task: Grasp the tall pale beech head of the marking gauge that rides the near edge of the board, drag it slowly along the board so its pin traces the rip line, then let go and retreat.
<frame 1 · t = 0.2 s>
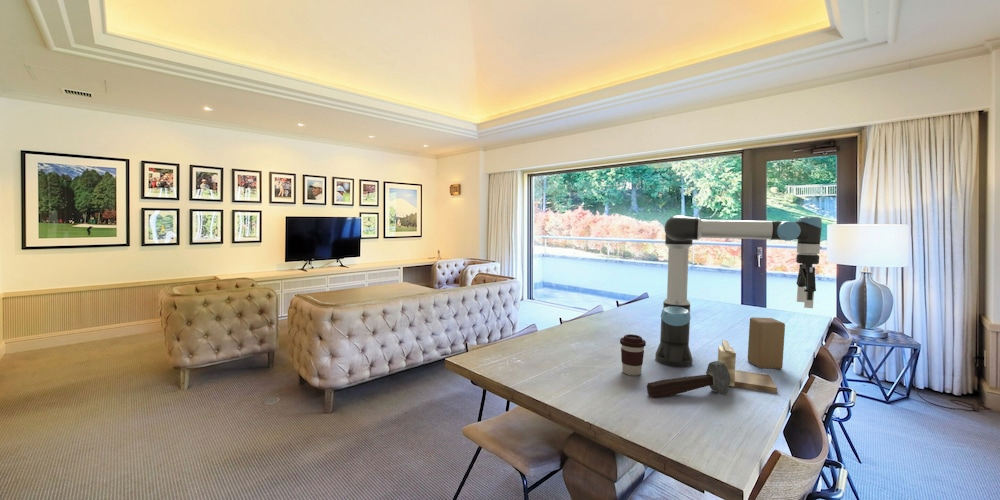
hand: (804, 304, 168), 28 cm above the table, fingers open, 13 cm apart
wooden block: (764, 365, 175), on the table
coffee cup: (631, 373, 164), on the table
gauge: (725, 362, 157), point 7 cm above the table, slide at 0.0 cm
board: (742, 381, 156), on the table
hammer: (687, 395, 144), on the table
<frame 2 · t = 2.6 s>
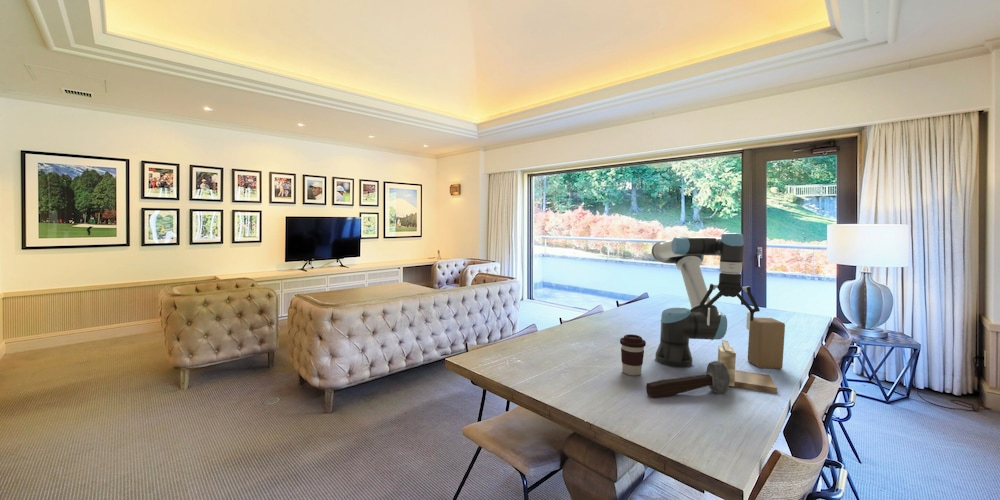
hand: (727, 326, 157), 21 cm above the table, fingers open, 13 cm apart
nothing on the table moved.
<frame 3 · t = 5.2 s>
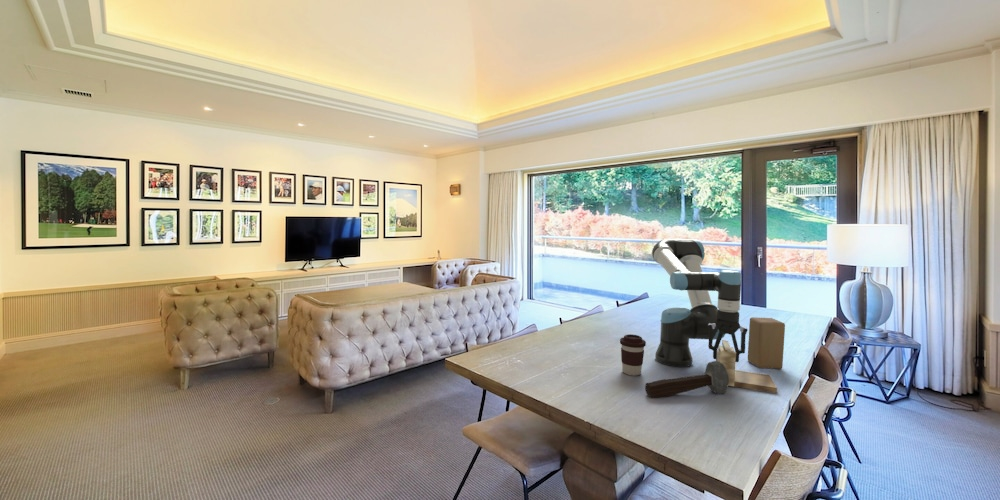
hand: (725, 368, 159), 4 cm above the table, fingers closed on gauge, 5 cm apart
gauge: (725, 362, 157), point 7 cm above the table, slide at 0.0 cm, touching gripper
everything else where it was.
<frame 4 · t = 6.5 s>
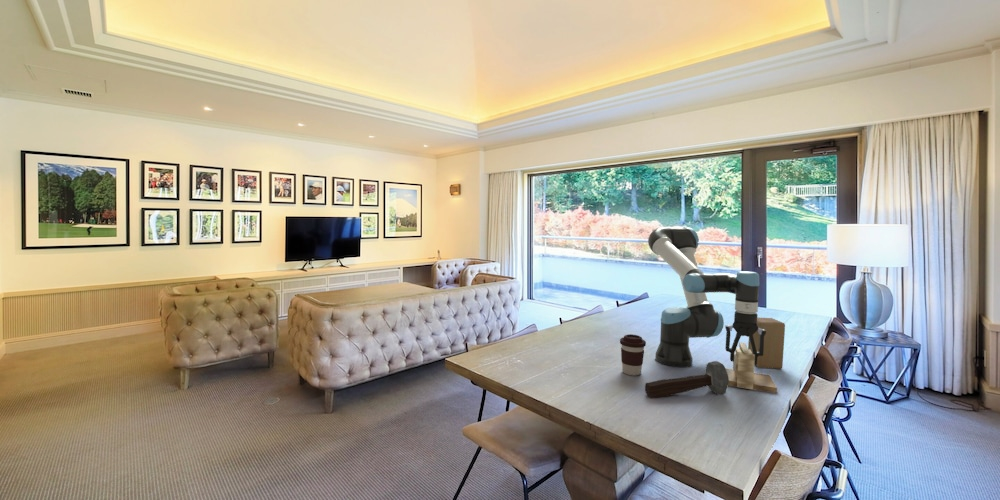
hand: (742, 370, 156), 4 cm above the table, fingers closed on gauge, 5 cm apart
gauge: (743, 364, 155), point 7 cm above the table, slide at 6.0 cm, touching gripper
everything else where it was.
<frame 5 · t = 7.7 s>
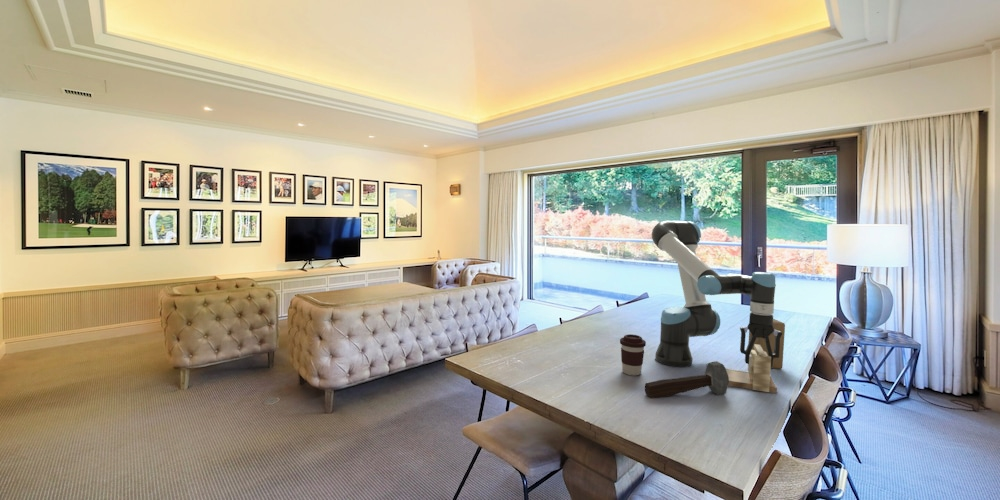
hand: (757, 373, 154), 4 cm above the table, fingers closed on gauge, 5 cm apart
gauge: (758, 366, 153), point 7 cm above the table, slide at 11.0 cm, touching gripper
everything else where it was.
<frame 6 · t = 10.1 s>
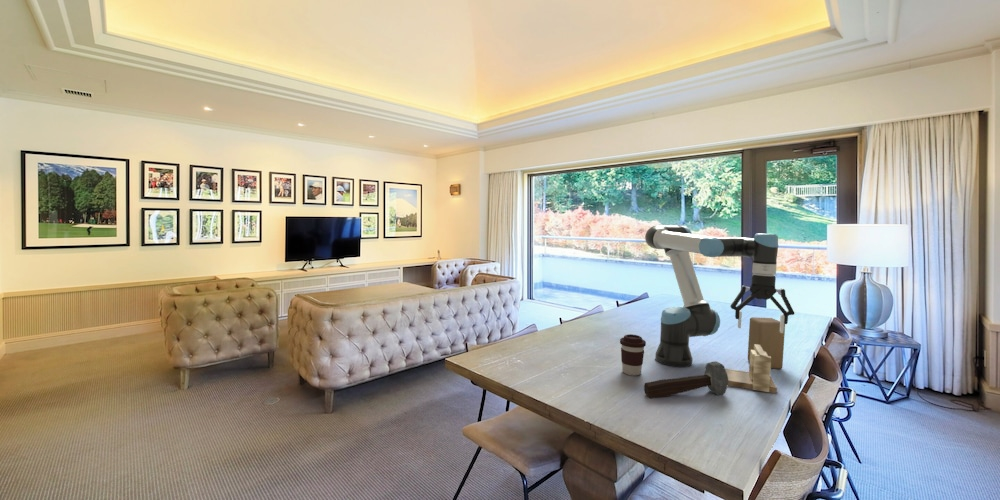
hand: (759, 330, 153), 21 cm above the table, fingers open, 13 cm apart
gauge: (758, 366, 153), point 7 cm above the table, slide at 11.0 cm
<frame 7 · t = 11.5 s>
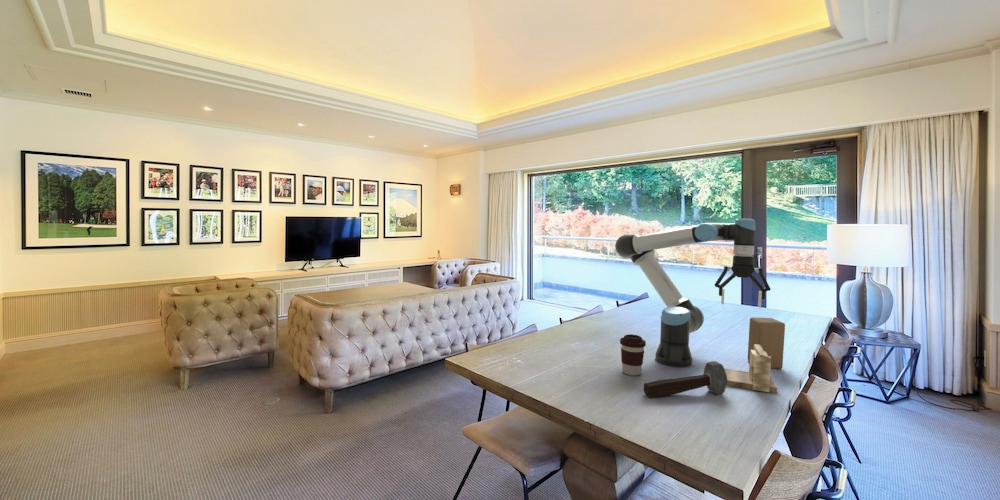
hand: (740, 305, 171), 27 cm above the table, fingers open, 13 cm apart
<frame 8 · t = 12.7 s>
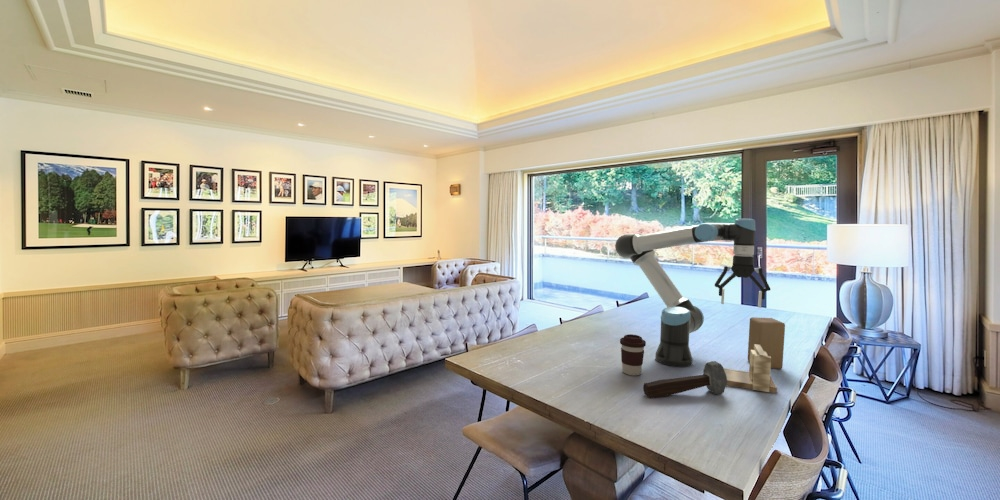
hand: (740, 305, 171), 27 cm above the table, fingers open, 13 cm apart
at the end: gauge slide at 11.0 cm; the gripper is holding nothing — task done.
